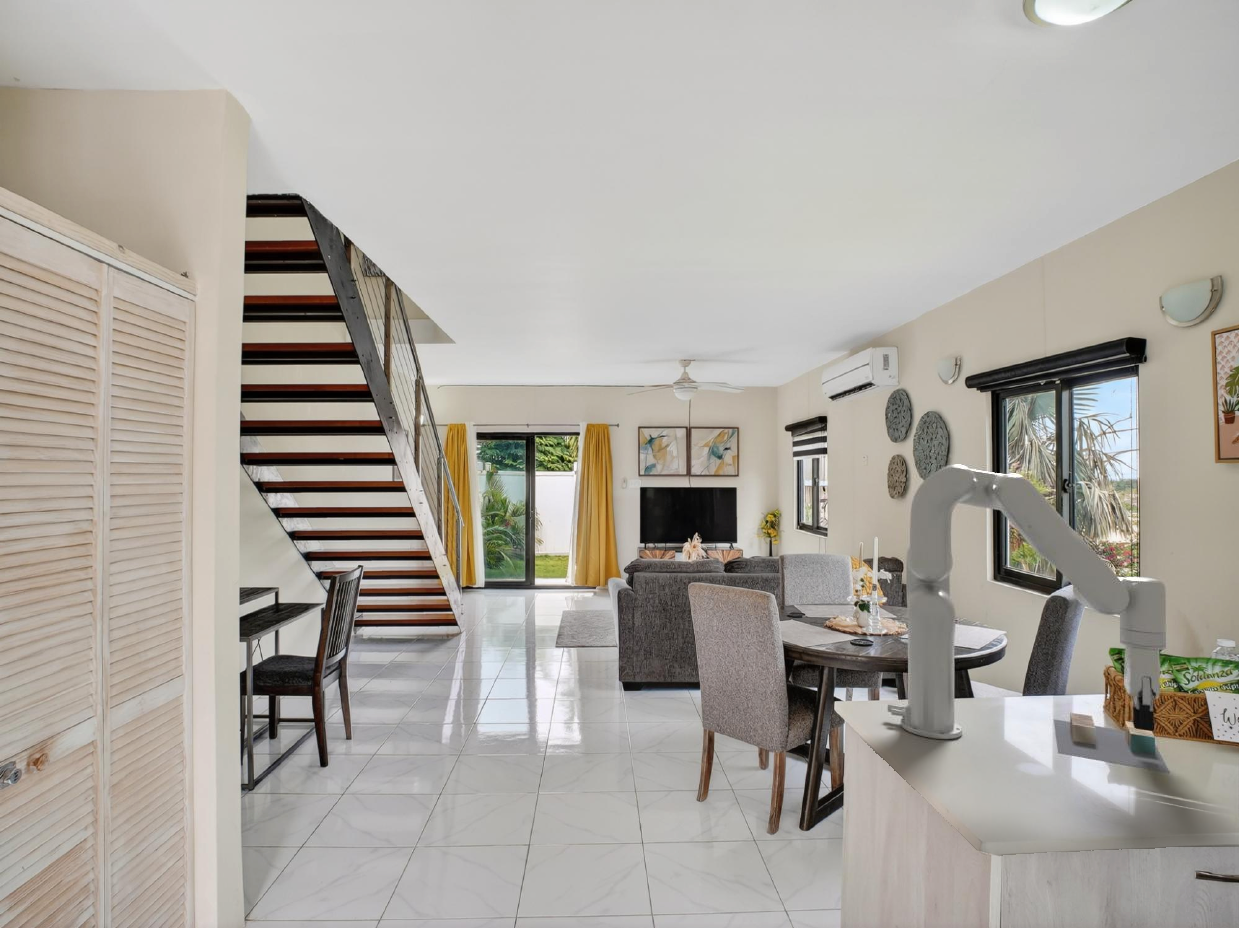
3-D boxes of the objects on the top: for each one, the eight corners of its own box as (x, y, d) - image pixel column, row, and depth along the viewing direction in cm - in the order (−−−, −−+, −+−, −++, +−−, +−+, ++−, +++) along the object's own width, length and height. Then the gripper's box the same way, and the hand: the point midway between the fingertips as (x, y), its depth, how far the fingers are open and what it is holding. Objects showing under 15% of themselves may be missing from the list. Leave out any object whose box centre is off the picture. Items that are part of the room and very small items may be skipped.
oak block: (1130, 733, 141) (1125, 721, 149) (1130, 750, 141) (1125, 737, 148) (1154, 737, 139) (1148, 724, 146) (1155, 754, 139) (1148, 741, 146)
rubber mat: (1058, 754, 139) (1058, 752, 139) (1053, 720, 160) (1053, 719, 160) (1170, 775, 130) (1170, 772, 130) (1150, 736, 150) (1150, 734, 150)
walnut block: (1072, 724, 146) (1070, 712, 154) (1072, 740, 146) (1070, 728, 154) (1095, 727, 144) (1091, 715, 152) (1095, 744, 144) (1091, 731, 151)
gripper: (1116, 629, 148) (1116, 715, 147) (1124, 642, 135) (1125, 736, 134) (1159, 634, 144) (1160, 721, 143) (1172, 648, 131) (1173, 744, 131)
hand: (1143, 728), depth 139 cm, fingers closed
